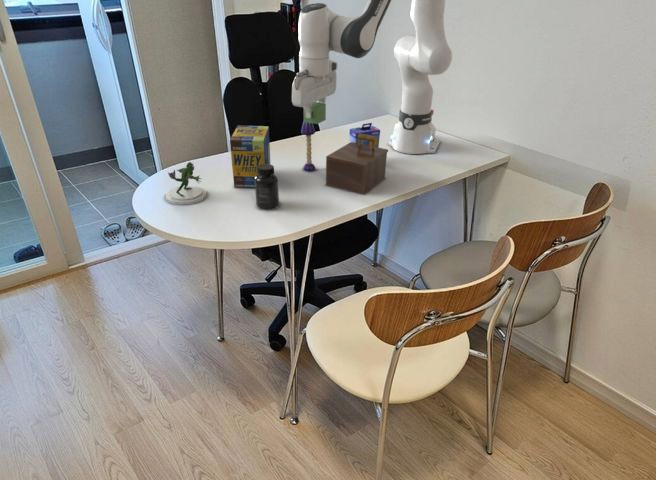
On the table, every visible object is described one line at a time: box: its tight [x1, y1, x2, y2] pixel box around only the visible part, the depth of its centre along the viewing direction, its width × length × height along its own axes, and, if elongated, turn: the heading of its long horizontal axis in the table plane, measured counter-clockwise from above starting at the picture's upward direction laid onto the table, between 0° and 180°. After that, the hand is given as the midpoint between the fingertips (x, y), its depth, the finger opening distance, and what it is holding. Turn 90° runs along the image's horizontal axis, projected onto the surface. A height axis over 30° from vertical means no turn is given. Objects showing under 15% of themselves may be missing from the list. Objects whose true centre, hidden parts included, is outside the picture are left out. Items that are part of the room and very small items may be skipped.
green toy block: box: [302, 101, 327, 125], centre depth 152 cm, size 5×5×5 cm
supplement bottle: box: [254, 163, 280, 211], centre depth 144 cm, size 7×7×12 cm
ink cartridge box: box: [348, 122, 381, 148], centre depth 174 cm, size 10×6×14 cm, turn 117°
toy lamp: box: [300, 120, 316, 172], centre depth 167 cm, size 5×5×17 cm
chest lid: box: [325, 133, 389, 167], centre depth 157 cm, size 17×14×5 cm
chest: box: [325, 152, 388, 196], centre depth 160 cm, size 16×14×9 cm
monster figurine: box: [165, 161, 207, 206], centre depth 149 cm, size 12×12×10 cm
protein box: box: [229, 124, 271, 189], centre depth 159 cm, size 10×15×16 cm
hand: (314, 115), depth 152 cm, fingers closed on green toy block, 5 cm apart
